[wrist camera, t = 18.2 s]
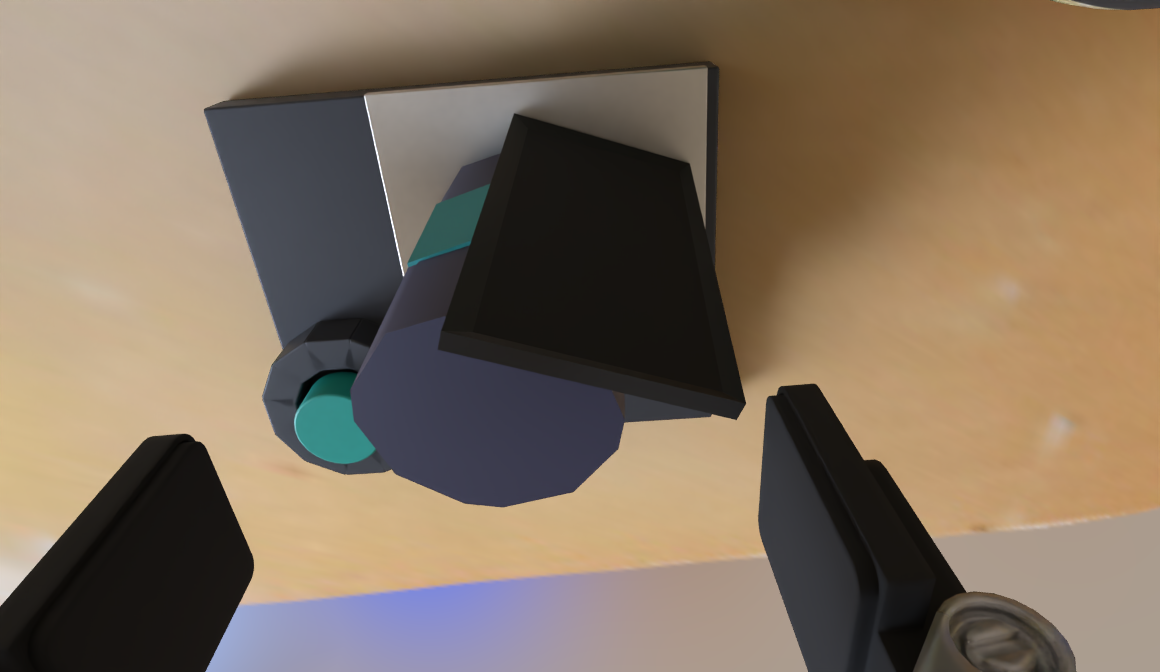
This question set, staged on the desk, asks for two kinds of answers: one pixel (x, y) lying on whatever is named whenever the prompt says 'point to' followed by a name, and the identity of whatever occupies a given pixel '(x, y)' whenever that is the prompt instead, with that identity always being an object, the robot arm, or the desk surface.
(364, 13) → the desk surface
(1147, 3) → the coffee jar
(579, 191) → the speaker
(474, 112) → the grey flat square plate
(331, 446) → the button
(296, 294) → the scale
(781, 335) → the desk surface
